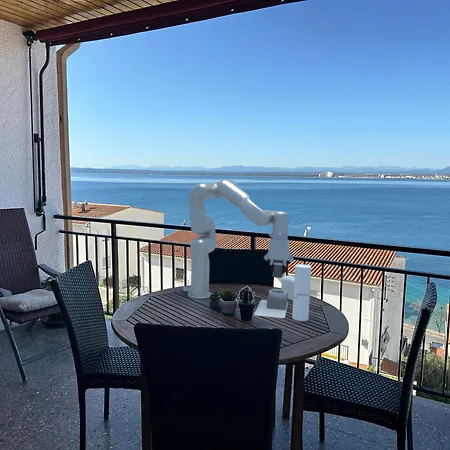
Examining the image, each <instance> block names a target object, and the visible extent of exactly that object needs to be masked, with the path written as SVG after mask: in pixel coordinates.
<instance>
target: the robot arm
mask: <svg viewBox="0 0 450 450" xmlns="http://www.w3.org/2000/svg"><path fill="white" fill-rule="evenodd" d="M187 197H188V198H187V199H188V201H187V202H188V208H189V221H190V229H191V231H192V233H193V234H194V235H199V237H198V236H197V237H195V238H194V239H193V240H192V241H191V243H190V246H189V251H190V257H191V258H190V259H191V260H190V261H191V264H190V265H191V267H190V268H191V269H190V271H191V272H190V286H183V288H182V289H183V292H188V293H187V297H189V298H191V299H198V300H204V299H205V300H206V299H209V298H211V297H210V295H211V296H212V293H211V292H210V291H209V285H210V258H209V253H212V252H213V251H214V250H215V249H216V246H217V235H216V226H215V221H214V219H213V218H212V217H210V216H209V215H207V213H206V211H207V210H206V205H205V203H204V201H205V200H212V199H213V200H214V199H220V198H223V199H225V200H227V201H228V202H229V203H230V204H231V205H233V206H235V208H237V209H239V211H240V212H241V213H242V214H243V216H245V217H246V218H247V219H248V220H250V221H251V222H252V223H254V224H255V225H256V226H259V227H266V226H270V225H272V226H271V227H272V228H271V229H272V230H271V233H268V236H269V237H271V238H270V240H269V242H268V243H269V244H268V251H267V253H266V254H265V255H264V257H263V259H264V260H265V261H266V262H267V263H268V264H269V266H270V267H269V271H270V274H273V261H274V260H282V261H283V263H284V265H283V275H285V273H286V272H287V266H288V265H289V264H290V263H292V262H293V261H294V260H295V259H294V257H293V256H292V254H291V253H290V240H289V239H288V235H289V233H288V231H289V217H290V216H289V213H288V212H287V211H280V210H270V209H264V210H263V209H262V208H260V207H258V205H256V204H255V203H254V202H253V201H252V200H251V197H250V194H248V193H247V192H246V191H244V190H243V189H242V188H240V187H239V185H238V183H237V182H236V181H235V180H234V179H227V178H226V179H222V180H220V181H216V182H202V183H201V182H200V183H198V184H196V185H194V186H193V187H191V189H190V190H189V193H188V196H187Z"/></svg>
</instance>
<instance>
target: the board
mask: <svg viewBox="0 0 450 450" xmlns="http://www.w3.org/2000/svg"><path fill="white" fill-rule="evenodd" d="M288 307H289V301H287V306H286V310H278V309H268V308H267V299H261V300H260V301H259V303H258V306H257V308H256V310H255V311H254V313H253V315H254V316H259V317H269V318H279V319H285V317H286V314H287V309H288Z"/></svg>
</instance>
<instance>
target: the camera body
mask: <svg viewBox="0 0 450 450" xmlns="http://www.w3.org/2000/svg"><path fill="white" fill-rule="evenodd" d="M266 300H267V308H268V309H278V310H286V306H287V302H289V301H288V300H289V299H288V293H287V292H286V291H285V290H281V289H279V288H276V289H275V288H274V289H269V291H268V296H267V297H266ZM287 307H288V306H287ZM286 311H287V310H286Z"/></svg>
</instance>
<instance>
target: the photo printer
mask: <svg viewBox="0 0 450 450" xmlns="http://www.w3.org/2000/svg"><path fill="white" fill-rule="evenodd" d="M294 277H295V276H291V275H283V277H282V278H281V289H280V290H285V291H286V292H287V293H288V300H291V301H293V296H294Z"/></svg>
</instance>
